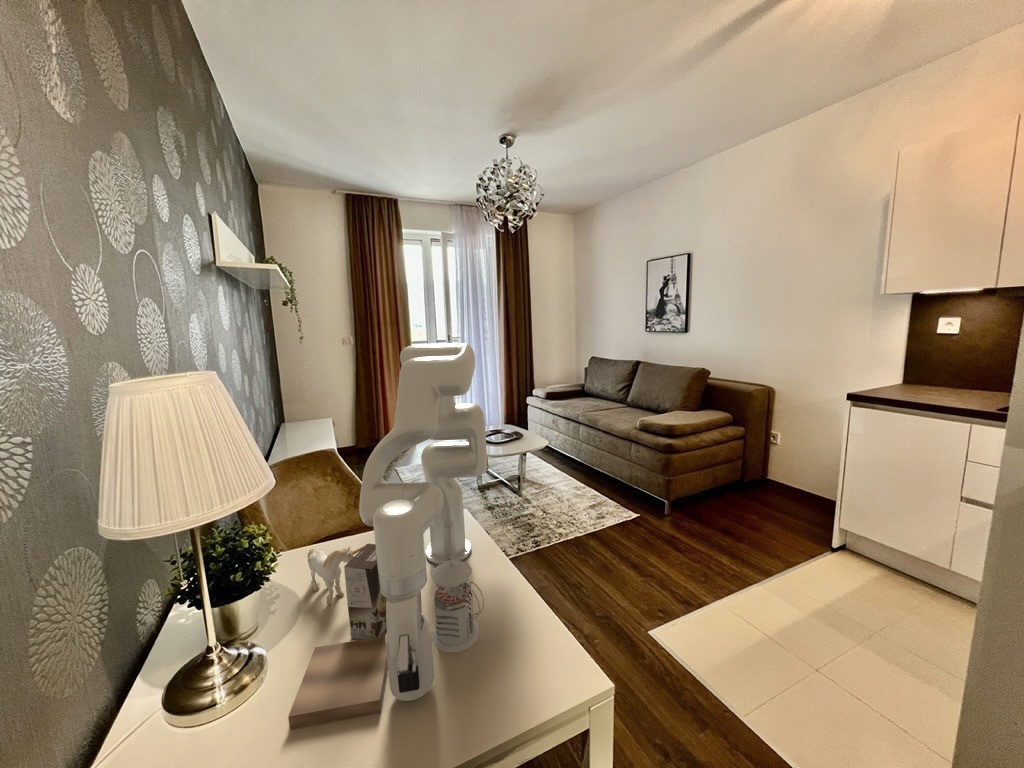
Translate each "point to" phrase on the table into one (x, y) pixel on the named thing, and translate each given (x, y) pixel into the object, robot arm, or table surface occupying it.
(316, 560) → the unicorn figurine
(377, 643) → the riser
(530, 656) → the table surface
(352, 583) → the coffee box
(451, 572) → the french press
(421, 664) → the can
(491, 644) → the table surface
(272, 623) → the table surface
